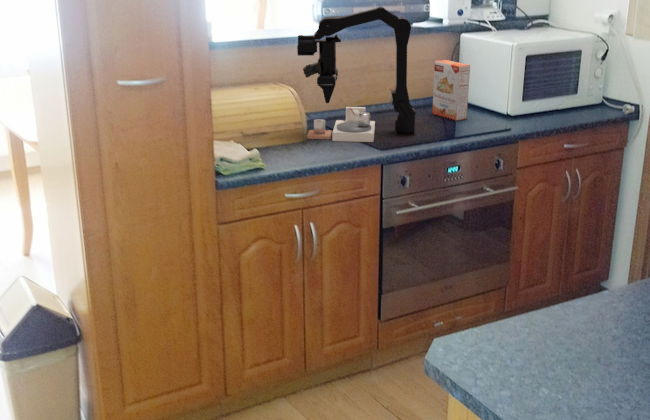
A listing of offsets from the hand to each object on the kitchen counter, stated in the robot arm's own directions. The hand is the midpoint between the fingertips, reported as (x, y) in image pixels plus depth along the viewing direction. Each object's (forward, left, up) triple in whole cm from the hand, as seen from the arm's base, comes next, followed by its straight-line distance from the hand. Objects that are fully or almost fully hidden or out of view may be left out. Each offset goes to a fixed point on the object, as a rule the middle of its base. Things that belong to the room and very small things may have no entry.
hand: (328, 100), depth 260 cm
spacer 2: (-13, +5, -8) cm, 16 cm away
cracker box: (-44, -28, -12) cm, 54 cm away
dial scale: (-9, +3, -12) cm, 15 cm away
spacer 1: (+3, +5, -11) cm, 12 cm away
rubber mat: (+3, +5, -12) cm, 13 cm away
